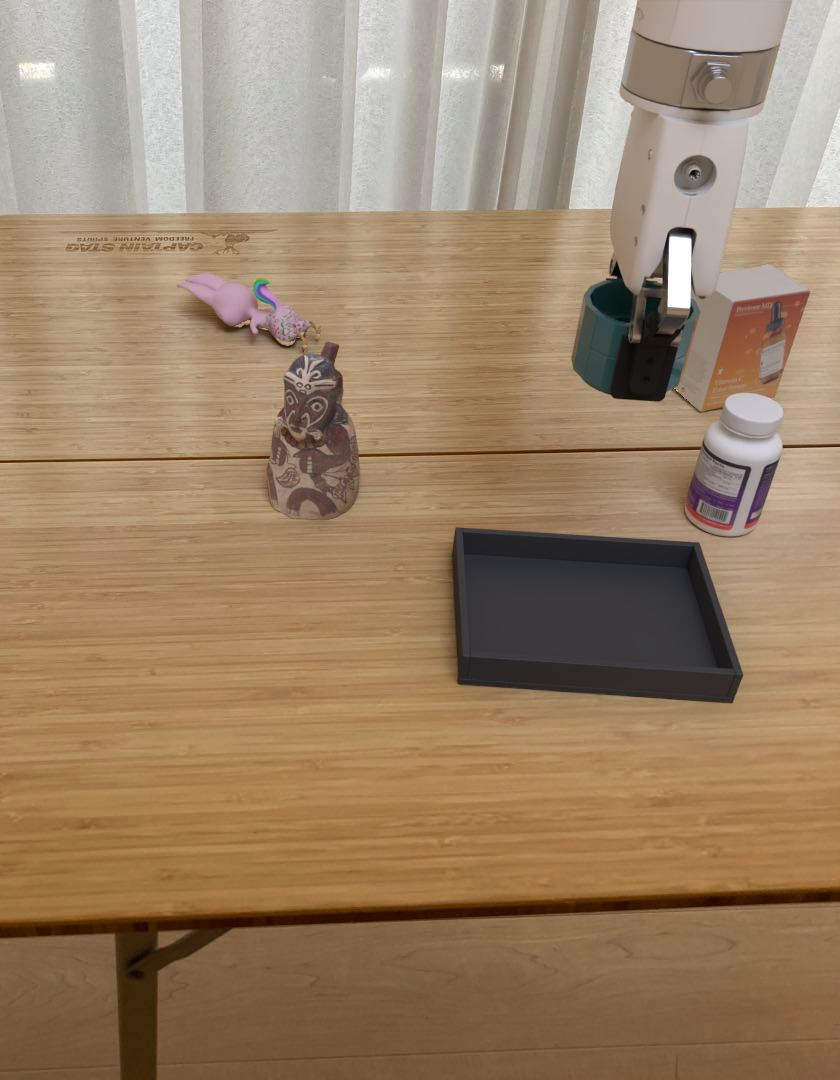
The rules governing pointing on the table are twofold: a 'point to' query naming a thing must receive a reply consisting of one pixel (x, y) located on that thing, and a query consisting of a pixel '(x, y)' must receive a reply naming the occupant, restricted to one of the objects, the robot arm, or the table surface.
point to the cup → (618, 333)
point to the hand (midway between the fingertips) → (627, 364)
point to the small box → (742, 336)
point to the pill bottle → (736, 466)
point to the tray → (590, 616)
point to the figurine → (313, 442)
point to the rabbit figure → (248, 306)
